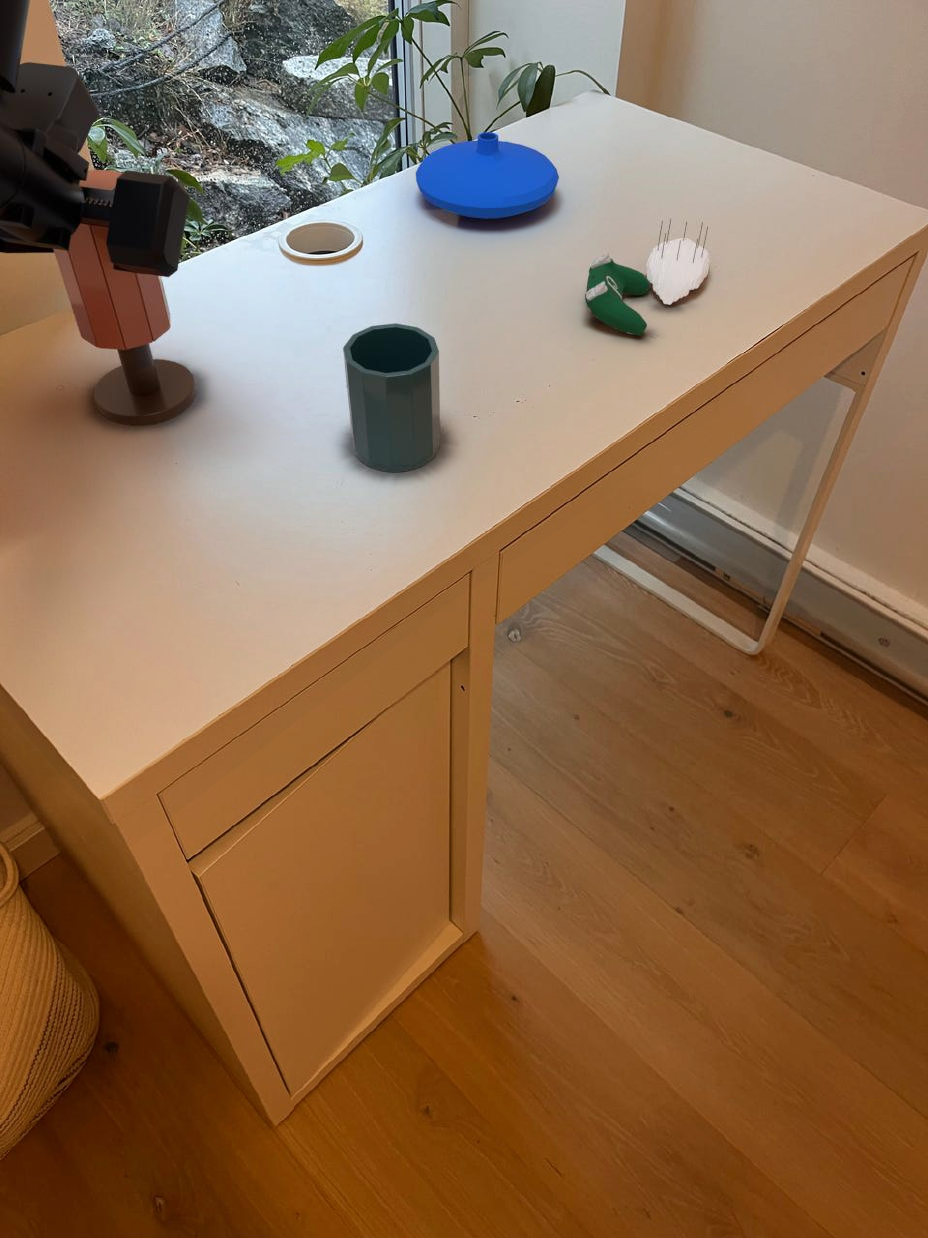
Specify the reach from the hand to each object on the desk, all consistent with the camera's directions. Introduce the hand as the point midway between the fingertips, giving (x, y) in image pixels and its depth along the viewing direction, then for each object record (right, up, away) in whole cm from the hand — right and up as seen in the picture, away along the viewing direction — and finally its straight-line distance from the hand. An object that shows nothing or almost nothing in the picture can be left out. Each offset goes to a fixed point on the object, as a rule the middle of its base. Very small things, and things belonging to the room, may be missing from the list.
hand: (117, 251), depth 76 cm
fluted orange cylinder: (0, -5, +3) cm, 6 cm away
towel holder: (0, -9, +8) cm, 13 cm away
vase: (+29, +18, +33) cm, 48 cm away
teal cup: (+21, -14, +4) cm, 26 cm away
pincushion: (+48, +6, +23) cm, 54 cm away
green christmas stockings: (+42, +1, +18) cm, 45 cm away
